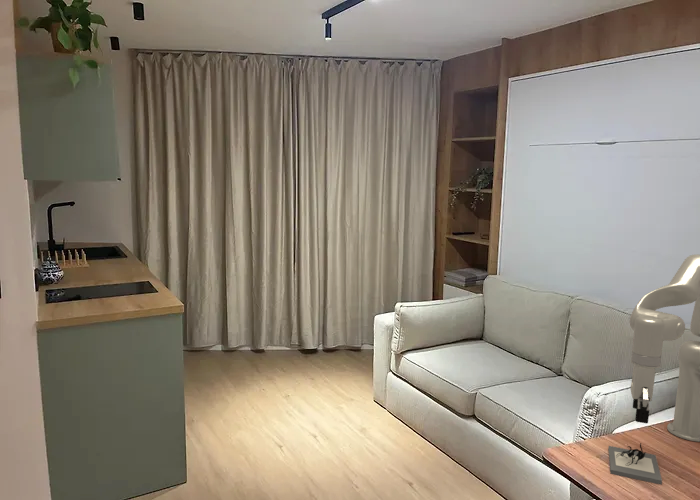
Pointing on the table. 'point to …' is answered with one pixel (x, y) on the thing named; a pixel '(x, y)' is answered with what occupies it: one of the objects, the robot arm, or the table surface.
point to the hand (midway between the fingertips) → (640, 415)
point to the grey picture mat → (634, 466)
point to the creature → (640, 454)
